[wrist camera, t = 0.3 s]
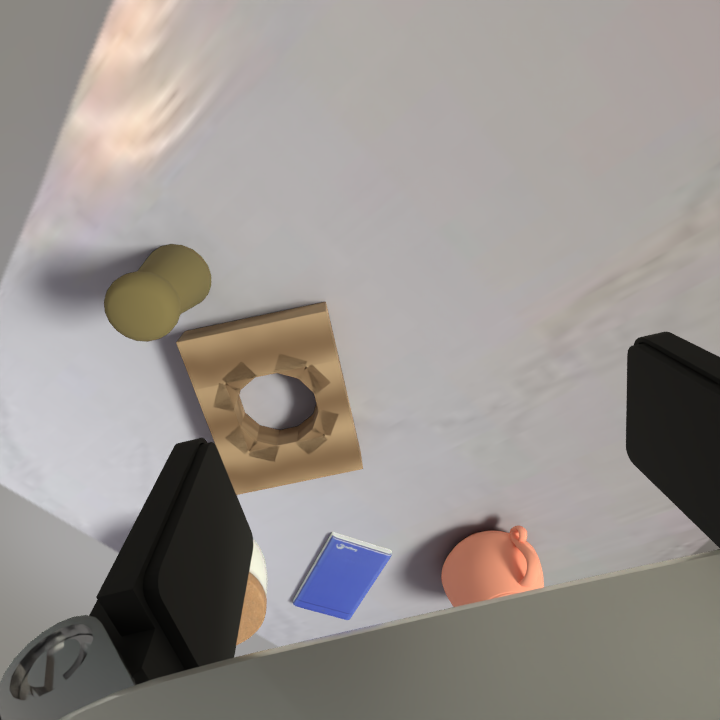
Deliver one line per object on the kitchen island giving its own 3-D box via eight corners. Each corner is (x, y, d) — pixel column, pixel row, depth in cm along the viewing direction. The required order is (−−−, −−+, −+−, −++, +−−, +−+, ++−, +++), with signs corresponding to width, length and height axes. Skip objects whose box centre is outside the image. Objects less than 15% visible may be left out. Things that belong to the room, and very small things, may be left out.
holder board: (184, 331, 45) (176, 342, 43) (325, 301, 45) (326, 311, 43) (239, 477, 53) (234, 495, 50) (360, 452, 53) (362, 468, 50)
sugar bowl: (421, 578, 61) (439, 653, 52) (471, 497, 57) (501, 565, 47) (500, 598, 64) (531, 673, 55) (554, 523, 59) (598, 591, 50)
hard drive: (332, 537, 56) (292, 606, 60) (392, 556, 58) (350, 621, 62) (332, 528, 58) (293, 595, 62) (390, 546, 60) (349, 610, 64)
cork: (222, 294, 44) (194, 335, 34) (165, 317, 45) (120, 364, 35) (191, 234, 42) (150, 258, 32) (131, 258, 42) (72, 290, 32)
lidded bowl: (183, 589, 59) (155, 678, 49) (152, 512, 54) (114, 594, 44) (282, 573, 59) (275, 659, 49) (261, 495, 54) (247, 573, 44)
